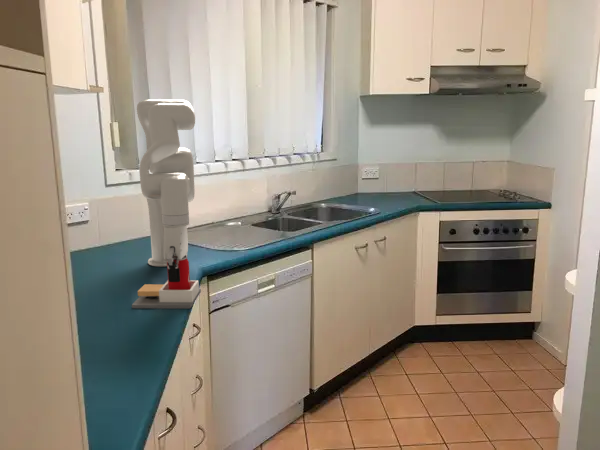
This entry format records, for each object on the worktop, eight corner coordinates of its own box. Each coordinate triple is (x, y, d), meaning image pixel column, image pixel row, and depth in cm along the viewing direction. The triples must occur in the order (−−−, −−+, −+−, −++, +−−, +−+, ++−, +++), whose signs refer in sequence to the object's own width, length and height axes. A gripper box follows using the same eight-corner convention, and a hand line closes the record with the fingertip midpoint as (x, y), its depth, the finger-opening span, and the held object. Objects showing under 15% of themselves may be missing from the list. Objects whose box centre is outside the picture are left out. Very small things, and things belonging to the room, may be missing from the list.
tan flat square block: (145, 292, 154) (144, 284, 153) (166, 292, 154) (165, 284, 153) (138, 299, 148) (137, 291, 147) (160, 299, 148) (159, 291, 147)
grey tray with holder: (147, 291, 158) (146, 277, 157) (200, 291, 158) (200, 278, 157) (132, 308, 144) (130, 293, 143) (190, 308, 144) (189, 293, 143)
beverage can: (192, 292, 154) (190, 254, 151) (188, 299, 148) (186, 260, 145) (171, 293, 154) (169, 254, 151) (166, 300, 148) (164, 260, 145)
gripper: (170, 213, 154) (173, 267, 158) (153, 226, 138) (157, 286, 141) (195, 213, 154) (197, 267, 158) (181, 226, 137) (184, 286, 141)
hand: (178, 276), depth 150 cm, fingers open, 9 cm apart
